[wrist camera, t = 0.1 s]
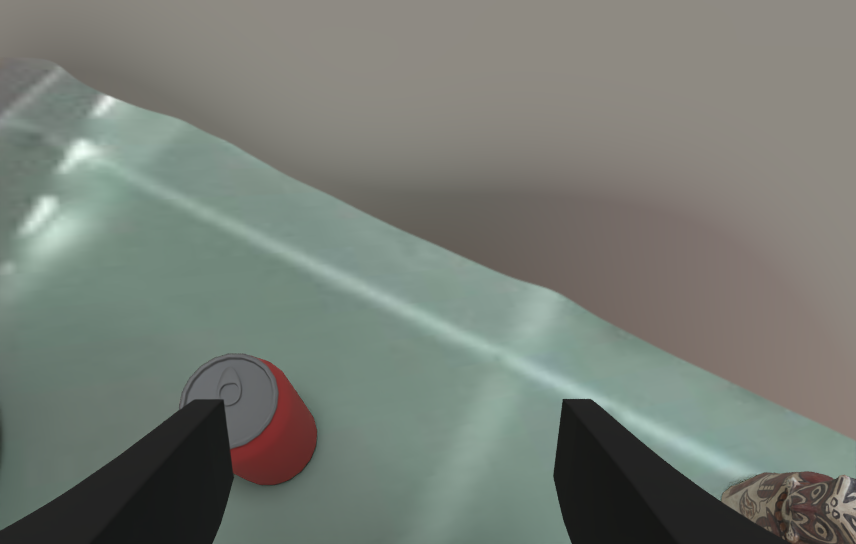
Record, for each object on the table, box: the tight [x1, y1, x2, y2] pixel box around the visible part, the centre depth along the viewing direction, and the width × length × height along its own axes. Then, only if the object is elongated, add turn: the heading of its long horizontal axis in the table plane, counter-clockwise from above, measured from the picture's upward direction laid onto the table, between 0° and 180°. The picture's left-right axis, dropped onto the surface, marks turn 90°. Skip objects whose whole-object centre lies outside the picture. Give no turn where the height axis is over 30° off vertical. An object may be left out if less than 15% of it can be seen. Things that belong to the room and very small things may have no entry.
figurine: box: [722, 471, 856, 544], centre depth 36 cm, size 7×7×12 cm
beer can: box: [179, 354, 317, 485], centre depth 38 cm, size 7×7×12 cm
